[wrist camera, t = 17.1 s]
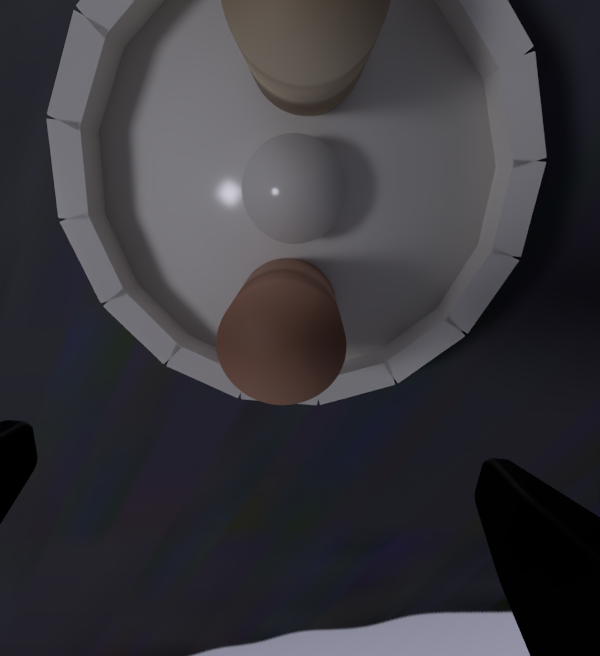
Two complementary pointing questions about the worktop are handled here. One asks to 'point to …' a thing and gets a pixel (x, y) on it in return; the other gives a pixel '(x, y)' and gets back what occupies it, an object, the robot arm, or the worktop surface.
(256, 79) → the bead maple
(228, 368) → the bead terracotta
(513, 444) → the worktop surface
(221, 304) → the tray
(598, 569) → the robot arm
